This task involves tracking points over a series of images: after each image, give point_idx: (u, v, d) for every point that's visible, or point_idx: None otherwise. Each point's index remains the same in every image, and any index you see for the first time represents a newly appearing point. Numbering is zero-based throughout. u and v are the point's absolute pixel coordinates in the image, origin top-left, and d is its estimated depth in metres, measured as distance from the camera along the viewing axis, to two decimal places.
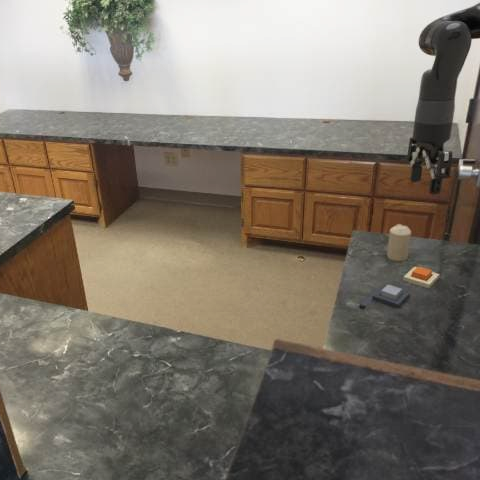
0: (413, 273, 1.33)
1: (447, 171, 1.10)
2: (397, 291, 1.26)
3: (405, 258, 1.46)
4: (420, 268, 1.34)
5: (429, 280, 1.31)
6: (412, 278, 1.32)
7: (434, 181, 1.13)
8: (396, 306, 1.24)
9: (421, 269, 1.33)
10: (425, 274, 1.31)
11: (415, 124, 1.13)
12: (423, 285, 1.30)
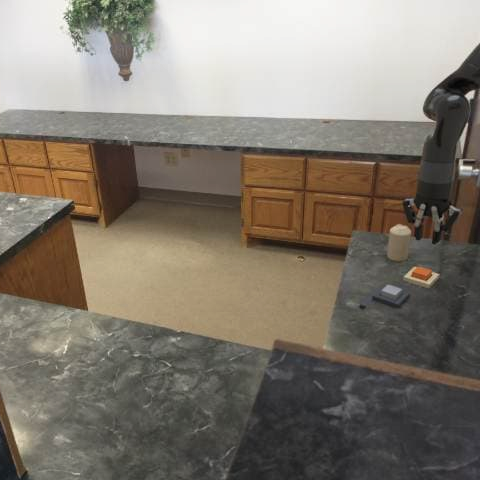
0: (413, 273, 1.33)
1: (451, 224, 1.23)
2: (397, 291, 1.26)
3: (405, 258, 1.46)
4: (420, 268, 1.34)
5: (429, 280, 1.31)
6: (412, 278, 1.32)
7: (437, 233, 1.25)
8: (396, 306, 1.24)
9: (421, 269, 1.33)
10: (425, 274, 1.31)
11: (426, 185, 1.20)
12: (423, 285, 1.30)
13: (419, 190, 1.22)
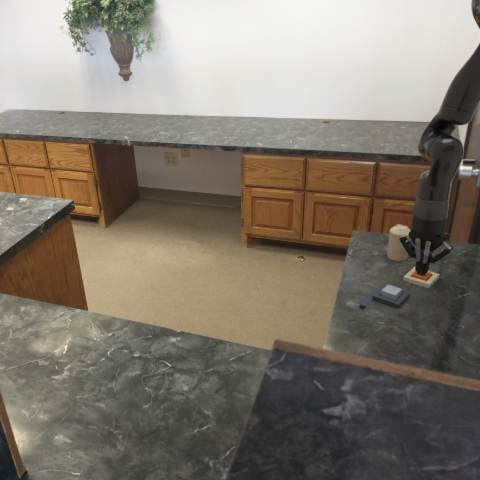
0: (413, 276, 1.33)
1: None
2: (397, 291, 1.26)
3: (405, 258, 1.46)
4: None
5: (429, 280, 1.31)
6: (412, 278, 1.32)
7: (425, 265, 1.30)
8: (396, 306, 1.24)
9: None
10: (425, 277, 1.31)
11: (421, 221, 1.24)
12: (423, 285, 1.30)
13: (414, 225, 1.26)
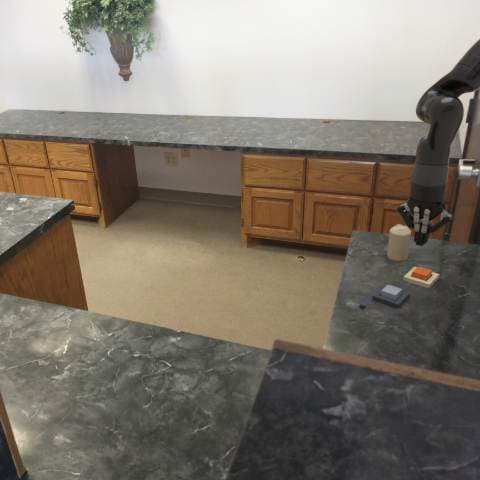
0: (413, 273, 1.33)
1: None
2: (397, 291, 1.26)
3: (405, 258, 1.46)
4: (420, 268, 1.34)
5: (429, 280, 1.31)
6: (412, 278, 1.32)
7: (424, 234, 1.25)
8: (396, 306, 1.24)
9: (421, 269, 1.33)
10: (425, 274, 1.31)
11: (419, 187, 1.19)
12: (423, 285, 1.30)
13: (412, 193, 1.21)
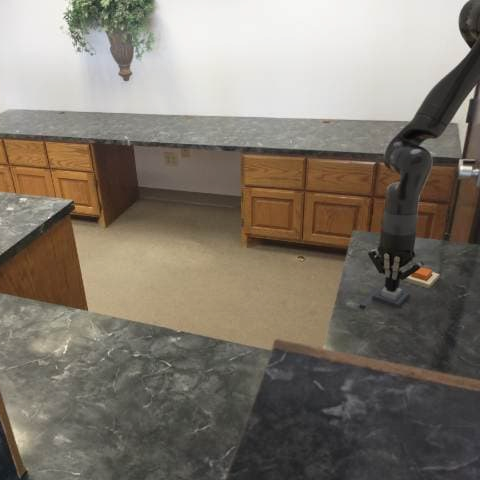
0: (413, 273, 1.33)
1: None
2: (397, 291, 1.26)
3: None
4: (420, 268, 1.34)
5: (429, 280, 1.31)
6: (412, 278, 1.32)
7: (395, 281, 1.24)
8: (396, 306, 1.24)
9: (421, 269, 1.33)
10: (425, 274, 1.31)
11: (388, 236, 1.18)
12: (423, 285, 1.30)
13: (382, 240, 1.20)
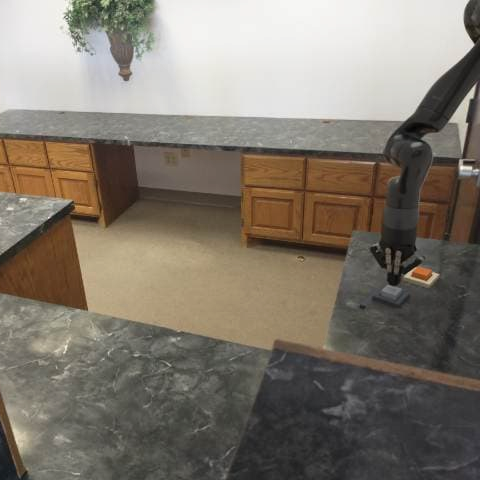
0: (413, 273, 1.33)
1: None
2: (397, 291, 1.26)
3: None
4: (420, 268, 1.34)
5: (429, 280, 1.31)
6: (412, 278, 1.32)
7: (397, 275, 1.23)
8: (396, 306, 1.24)
9: (421, 269, 1.33)
10: (425, 274, 1.31)
11: (390, 230, 1.17)
12: (423, 285, 1.30)
13: (383, 234, 1.19)
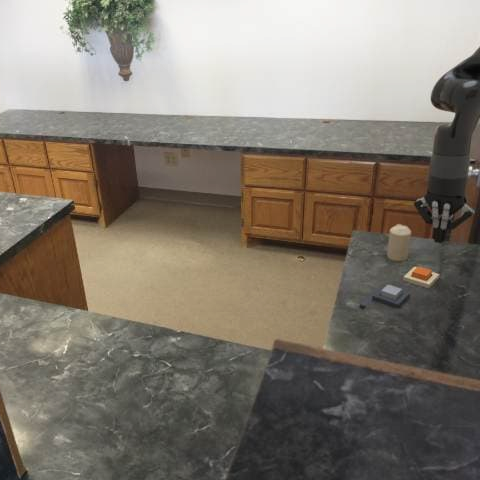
0: (413, 273, 1.33)
1: None
2: (397, 291, 1.26)
3: (405, 258, 1.46)
4: (420, 268, 1.34)
5: (429, 280, 1.31)
6: (412, 278, 1.32)
7: (444, 231, 1.16)
8: (396, 306, 1.24)
9: (421, 269, 1.33)
10: (425, 274, 1.31)
11: (438, 180, 1.10)
12: (423, 285, 1.30)
13: (430, 186, 1.12)
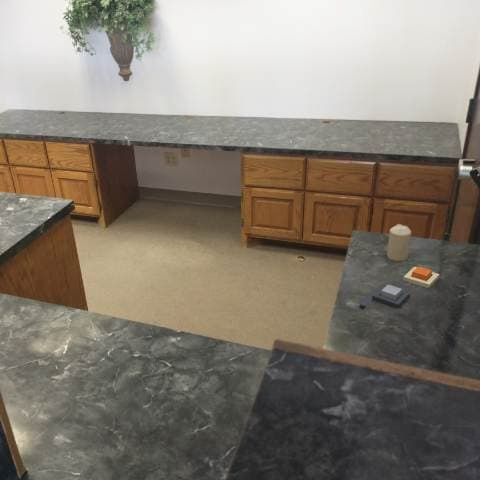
0: (413, 273, 1.33)
1: None
2: (397, 291, 1.26)
3: (405, 258, 1.46)
4: (420, 268, 1.34)
5: (429, 280, 1.31)
6: (412, 278, 1.32)
7: None
8: (396, 306, 1.24)
9: (421, 269, 1.33)
10: (425, 274, 1.31)
11: None
12: (423, 285, 1.30)
13: None
